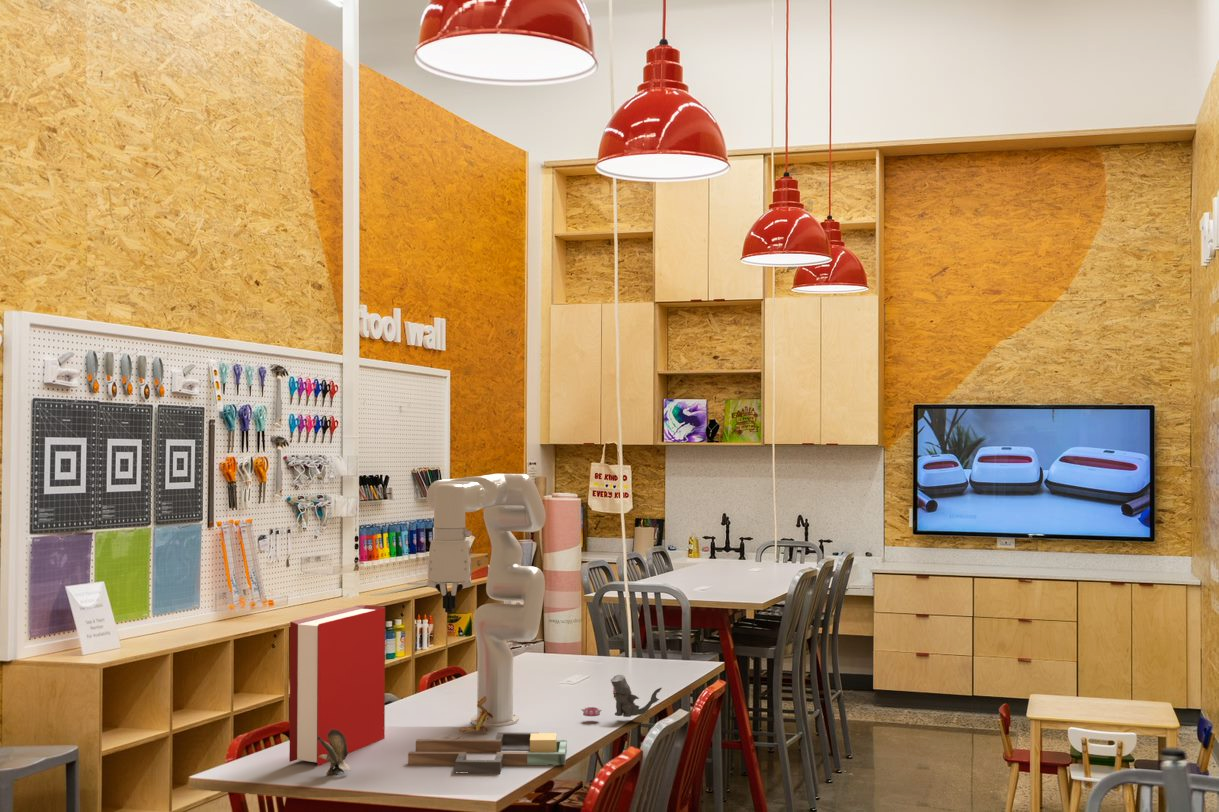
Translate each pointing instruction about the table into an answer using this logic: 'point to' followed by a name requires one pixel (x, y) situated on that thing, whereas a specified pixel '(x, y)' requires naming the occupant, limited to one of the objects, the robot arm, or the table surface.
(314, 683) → the book
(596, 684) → the table surface
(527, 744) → the trap channel
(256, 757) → the table surface
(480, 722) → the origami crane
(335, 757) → the eagle figurine
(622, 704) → the grey and pink pieces
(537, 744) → the ochre block
